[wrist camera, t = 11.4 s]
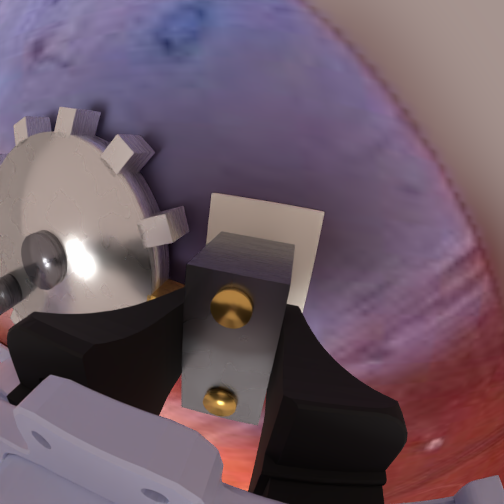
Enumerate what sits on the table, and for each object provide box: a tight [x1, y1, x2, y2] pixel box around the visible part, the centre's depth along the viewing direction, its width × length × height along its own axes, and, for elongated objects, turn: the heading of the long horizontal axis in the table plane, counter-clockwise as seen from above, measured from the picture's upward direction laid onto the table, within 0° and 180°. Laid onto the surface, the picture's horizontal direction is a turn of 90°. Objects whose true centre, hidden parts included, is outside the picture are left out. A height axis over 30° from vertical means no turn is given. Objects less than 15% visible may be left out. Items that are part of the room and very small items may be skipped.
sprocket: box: [0, 107, 190, 324], centre depth 13 cm, size 15×15×6 cm
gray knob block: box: [182, 231, 295, 425], centre depth 11 cm, size 6×3×4 cm, turn 172°
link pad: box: [206, 193, 324, 313], centre depth 15 cm, size 8×5×1 cm, turn 172°
